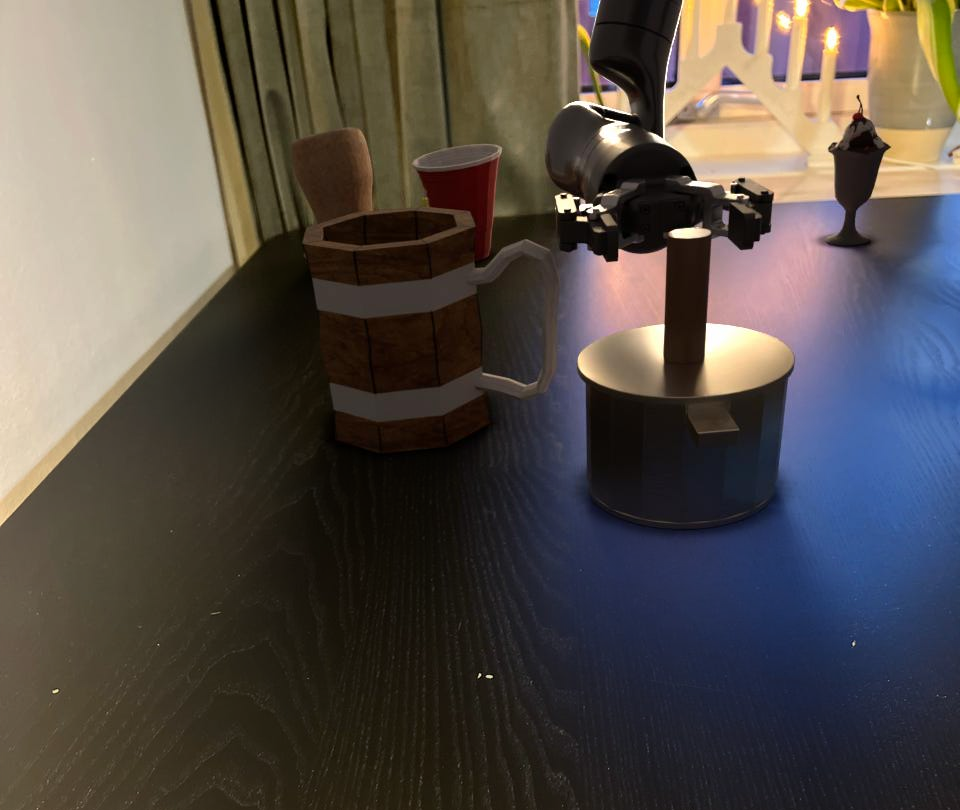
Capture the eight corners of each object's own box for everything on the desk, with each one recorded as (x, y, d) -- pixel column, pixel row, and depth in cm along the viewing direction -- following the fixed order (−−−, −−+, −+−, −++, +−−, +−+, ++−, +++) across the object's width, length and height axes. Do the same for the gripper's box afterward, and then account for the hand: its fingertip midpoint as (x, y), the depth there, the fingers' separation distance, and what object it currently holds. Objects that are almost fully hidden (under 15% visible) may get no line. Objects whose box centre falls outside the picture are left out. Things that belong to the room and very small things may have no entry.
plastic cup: (408, 257, 125) (396, 153, 118) (483, 241, 128) (476, 140, 122) (445, 274, 117) (434, 164, 110) (524, 257, 120) (518, 149, 113)
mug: (302, 448, 78) (264, 251, 69) (367, 385, 88) (342, 207, 79) (542, 464, 72) (533, 251, 63) (582, 394, 82) (579, 204, 74)
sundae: (838, 230, 119) (855, 90, 111) (888, 238, 115) (910, 93, 106) (805, 242, 116) (820, 99, 108) (855, 250, 112) (876, 101, 103)
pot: (737, 426, 75) (746, 314, 70) (813, 541, 60) (831, 409, 55) (573, 440, 75) (571, 329, 70) (608, 558, 60) (608, 429, 55)
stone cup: (329, 243, 134) (310, 120, 126) (411, 242, 131) (397, 116, 122) (281, 274, 123) (256, 141, 114) (369, 274, 119) (350, 137, 111)
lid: (759, 331, 69) (771, 199, 64) (823, 403, 57) (843, 251, 53) (566, 348, 69) (562, 218, 64) (592, 424, 58) (590, 273, 53)
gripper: (540, 142, 72) (566, 184, 59) (733, 125, 72) (802, 163, 59) (544, 248, 77) (569, 310, 63) (726, 232, 77) (789, 290, 63)
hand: (681, 239), depth 61 cm, fingers open, 8 cm apart
